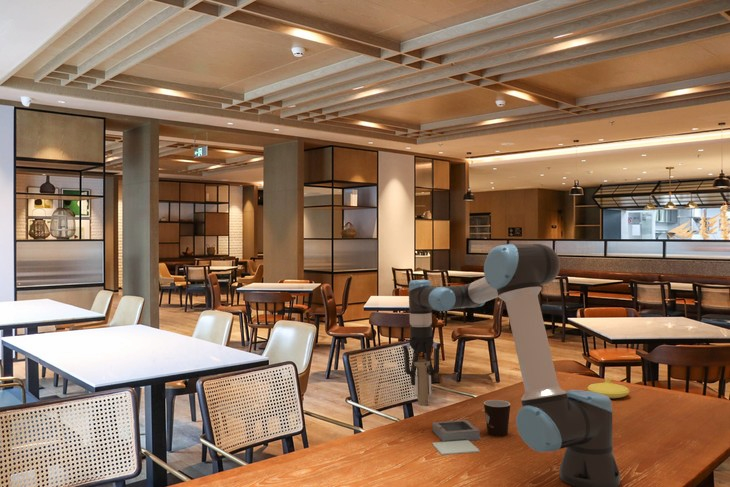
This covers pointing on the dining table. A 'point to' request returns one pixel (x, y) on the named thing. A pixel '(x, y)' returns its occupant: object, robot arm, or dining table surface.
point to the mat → (455, 447)
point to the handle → (422, 381)
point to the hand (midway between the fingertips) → (422, 394)
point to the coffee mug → (497, 417)
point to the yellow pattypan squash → (609, 389)
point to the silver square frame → (456, 430)
